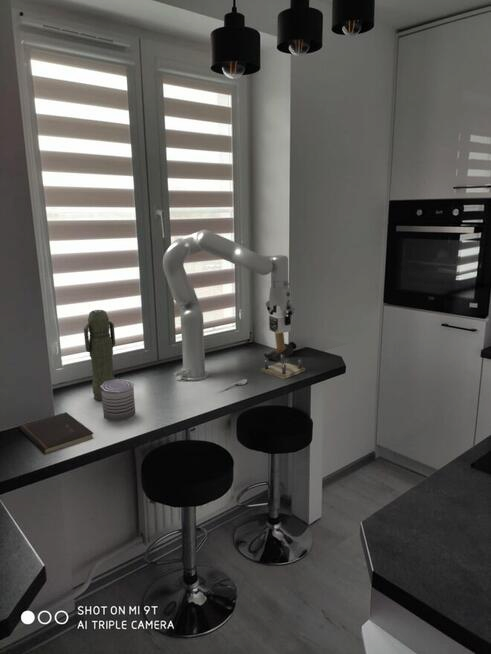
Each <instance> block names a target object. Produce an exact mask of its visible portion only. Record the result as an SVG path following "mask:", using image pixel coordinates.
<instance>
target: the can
mask: <svg viewBox="0 0 491 654" xmlns="http://www.w3.org/2000/svg"><path fill="white" fill-rule="evenodd" d="M134 386H135V384H134V383H133V382H131V380H129V379H128V380H127V379H120V378H119V379H118V378H115V380H110V381H105V382H104V383H103V384H102V385H101V386H100V387H101V388H102V389H101V392H102V401H101V402H102V410H103V411H102V413H103V419H105V420H106V421H108V422H115V423H116V422H117V423H119V422H124V421H129V420H130V419H133V418H134V417H135V414H136V405H135V404H136V403H135V390H134Z"/></svg>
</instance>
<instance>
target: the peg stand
mask: <svg viewBox="0 0 491 654" xmlns="http://www.w3.org/2000/svg"><path fill="white" fill-rule="evenodd" d="M302 361H303V360H302V358H301V359H300V358H298V359H297V365H296V364H293V363H292V364H291V363H288V362H285V358H284V355H281V359H280V362H277V363H274V364H271V365H269V359H267V358H266V359H264V367H262V368H260V369H261V372H262V373H265V374H267V375H271V376H274V377H277V378H280V379H284V380H285V379H288V378H290V377H293V376H295V375H299V374H301V372H302V373H304V372H306V367H304V366H302V365H303V363H302Z"/></svg>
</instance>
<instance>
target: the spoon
mask: <svg viewBox="0 0 491 654" xmlns="http://www.w3.org/2000/svg"><path fill="white" fill-rule="evenodd" d="M247 383H248V379H247V378H244V379H241V380H238V381H236V382H234V383H231V384H229V385H227V386H225V387H223V388H221V389H219V390H217V391H215V392H214V393H215V394H220V393H222V392H225V390H227V389H228V388H229V389H230V388H231V387H232V386H234V385H238V386H243V385H245V384H247Z"/></svg>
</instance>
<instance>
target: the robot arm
mask: <svg viewBox="0 0 491 654" xmlns="http://www.w3.org/2000/svg"><path fill="white" fill-rule="evenodd" d="M201 252H206V253H208V254H211V255H213V256H216V257H217V258H220V259H222V260H225V261H227V262H229V263H231V264H234V265H237V266H239V267H242V268H243V269H247V270H249V271H251V272H253V273H255V274H258V275H261V276H267V275H269V274H270V288H269V295H268V300H267V301H266V302H265V307H266V309H267V311H268V314H269V315H273V306H279V307H280V309H281V311H284V313H285V315H286V316H285V325H290V324H291V325H292V315H293V314H294V312H295V310H296V306H295V305H294V304H293V297H292V290H291V287H290V285H291V283H290V282H289V257H288V256H287V255H283V254H279V255H278V254H277V255H263V254H259V253H257V252H255V251H252V250H250V249H248V248H246V247H245V246H243V245H241V244H239V243H238V242H235V241H233V240H232V239H228V238H227V237H224V236H223V235H220V234H217V233H215V232H213V231H211V230H208V229H201V230H198V231H197V232H193V233H190V234H188V235H185V236H182V237H180V238H176V239H175V240H173V241H172V243H171V244H170V245H169V247H168V248H167V249H166V251H165V252H164V255H163V258H162V269H163V272H164V275H165V278H166V281H167V284H168V287H169V290H170V292H171V295H172V298H173V300H174V302H175V303H176V305H177V308H178V311H179V314H180V332H181V345H182V346H181V347H182V367H181V369H180V370H178V371H175V372H174V373H173V375H174V377H180V379H181V380H184V381H190V382H191V381H193V382H194V381H202V380H205V379H207V378H208V377H209V375H210V373H209V372H208V370H206V364H205V361H206V360H205V337H204V314H203V310H202V306H201V304H200V301H199V299H198V295H197V294H196V291H195V288H194V286H193V284H192V283H191V282H190V281H189V278H188V275H187V272H186V270H185V267H184V263H185V261H186V259H188V257H189V256H190V257H191V256H192V255H195V254H198V253H201Z"/></svg>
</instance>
